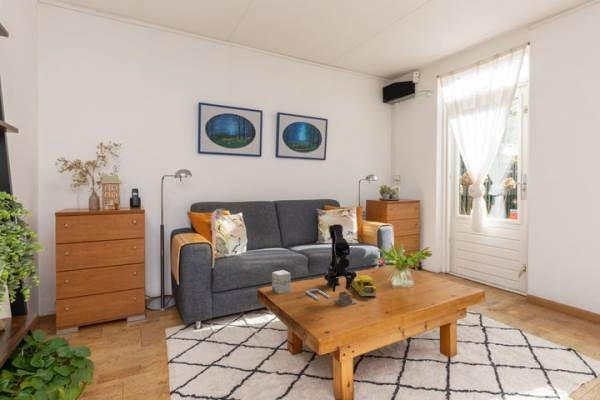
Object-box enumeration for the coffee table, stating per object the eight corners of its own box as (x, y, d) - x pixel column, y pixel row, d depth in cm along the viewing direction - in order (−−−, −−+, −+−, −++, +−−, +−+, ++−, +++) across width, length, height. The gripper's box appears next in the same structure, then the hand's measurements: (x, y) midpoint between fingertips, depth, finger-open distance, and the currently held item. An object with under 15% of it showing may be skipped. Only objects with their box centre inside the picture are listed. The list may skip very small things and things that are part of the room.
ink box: (271, 290, 197) (271, 271, 196) (282, 287, 202) (283, 269, 201) (279, 294, 190) (279, 275, 189) (290, 291, 195) (291, 272, 194)
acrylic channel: (317, 290, 197) (317, 288, 197) (329, 297, 185) (329, 295, 185) (305, 292, 193) (305, 290, 193) (317, 300, 181) (317, 298, 181)
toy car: (366, 284, 210) (366, 269, 209) (380, 298, 186) (380, 281, 185) (348, 285, 209) (348, 270, 208) (359, 298, 184) (359, 281, 184)
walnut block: (345, 299, 181) (345, 291, 181) (351, 302, 176) (352, 294, 176) (338, 300, 179) (339, 292, 179) (345, 304, 174) (345, 295, 174)
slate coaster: (346, 298, 184) (346, 297, 184) (356, 303, 176) (356, 302, 176) (333, 300, 180) (333, 299, 180) (343, 306, 172) (343, 305, 172)
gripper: (345, 258, 190) (345, 284, 191) (319, 262, 181) (318, 288, 182) (357, 262, 181) (356, 289, 182) (330, 266, 172) (329, 295, 173)
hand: (340, 290), depth 180 cm, fingers open, 9 cm apart
